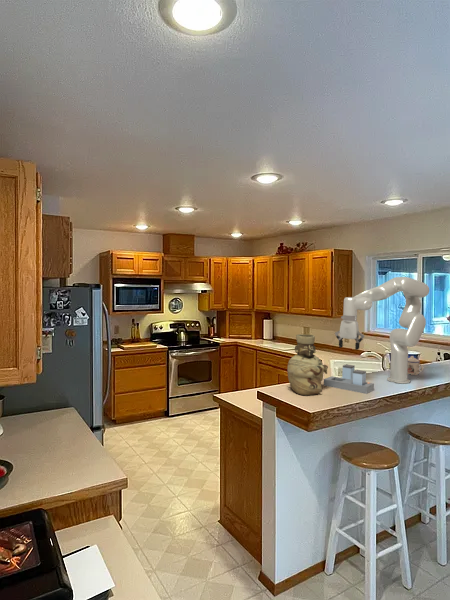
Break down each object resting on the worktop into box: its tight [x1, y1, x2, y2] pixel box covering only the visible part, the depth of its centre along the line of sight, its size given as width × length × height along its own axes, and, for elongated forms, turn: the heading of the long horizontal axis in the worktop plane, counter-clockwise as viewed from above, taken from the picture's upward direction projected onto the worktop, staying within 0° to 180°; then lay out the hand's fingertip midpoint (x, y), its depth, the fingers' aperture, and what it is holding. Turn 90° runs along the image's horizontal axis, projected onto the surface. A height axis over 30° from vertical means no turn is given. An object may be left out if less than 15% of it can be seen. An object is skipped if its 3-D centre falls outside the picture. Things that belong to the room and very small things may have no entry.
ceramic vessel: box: [286, 333, 329, 396], centre depth 211 cm, size 19×21×30 cm
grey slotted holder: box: [323, 375, 375, 395], centre depth 215 cm, size 10×24×5 cm, turn 49°
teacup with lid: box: [407, 355, 424, 376], centre depth 257 cm, size 12×9×12 cm
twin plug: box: [353, 369, 367, 385], centre depth 211 cm, size 5×5×10 cm
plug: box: [341, 364, 355, 380], centre depth 229 cm, size 5×5×10 cm
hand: (348, 348), depth 228 cm, fingers open, 9 cm apart
